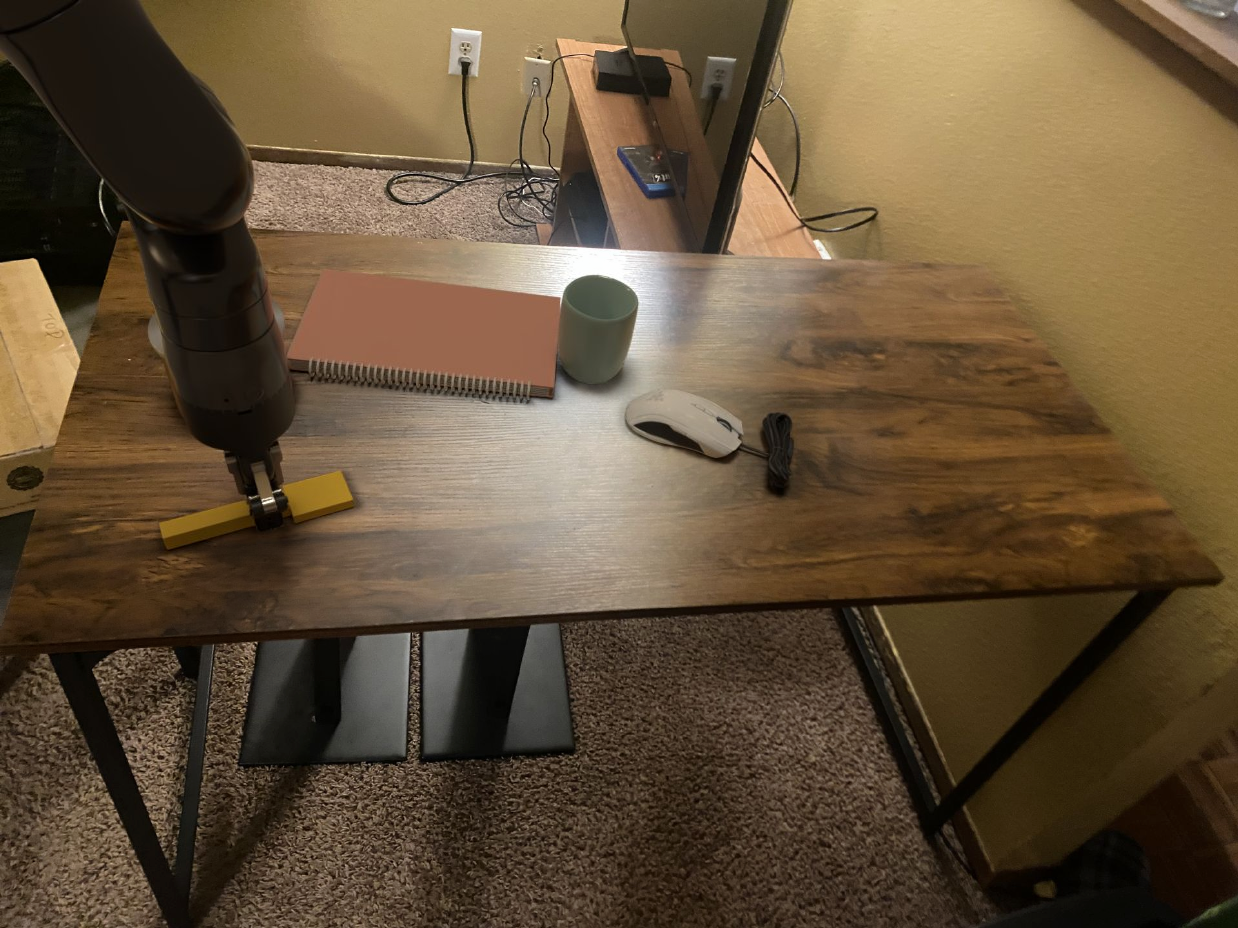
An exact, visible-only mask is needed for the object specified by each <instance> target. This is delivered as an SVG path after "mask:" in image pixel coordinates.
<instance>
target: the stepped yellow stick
mask: <svg viewBox="0 0 1238 928" xmlns="http://www.w3.org/2000/svg"><path fill="white" fill-rule="evenodd" d="M281 488H282V491H283V492H284V494H285V497H286V496H287V498H288V501H289V503H287V504H288V509H287V510H286V511H284V512H282V515H283V518H286V517H292V520H293V523H294V524H298V523H301V522H304V521H308V520H312V519H315V518H319V517H322V516H326V515H329V514H332V513H333V514H334V513H336V512H339V511H344V510H346V509H350V508H353V507H355V503H354V502H355V501H354V498H353V496H352V493H351V491H350V489H349V486H348V483H347V481H346V479H345V477H344V474H343V472H342V470H337V471H336V470H335V471H333V472H329V473H326V474H325V473H324V474H322V475H317V476H314V477H310V478H307V479H303V480H299V481H295V482H292V483H288V484H284V485H283V484H282V485H281ZM249 510H250V509H249V505H247V504H246V501H245V499H243V500H239V501H236V502H232V503H229V504H225V505H221V506H217V507H213V508H210V509H206V510H203V511H198V512H194V513H191V514H188V515H184V516H180V517H176V518H172V519H169V520H165V521H161V522H159V523H158V525H159V531H160V535H161V538H162V542H163V544H164V546H165V548H166V550H167V551H168V550H172V549H177V548H179V547H183V546H186V545H190V544H194V543H198V542H200V541H204V540H208V539H212V538H215V537H219V536H222V535H225V534H229V533H233V532H237V531H241V530H243V529H247V528H252V527H255V526H256V525H255V522H254V519H253V516H250V513H249Z"/></svg>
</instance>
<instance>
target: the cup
mask: <svg viewBox="0 0 1238 928" xmlns="http://www.w3.org/2000/svg"><path fill="white" fill-rule="evenodd" d="M638 311H639V298H638V295H637V294H636V292H635V291H634V290H633V288H632V287H630V286H629V285H627V284H626V283H625V282H622V281H621V280H618V279H616V278H613V277H610V276H606V275H603V274H602V275H601V274H587V275H582V276H580V277H577V278H575V279H573V280H571V281H570V282H569V284H567V285H566V287H565V289H564V290H563V293H562V298H561V301H560V314H559V327H558V340H557V353H558V360H559V362H560V365H561V367H562V368H563V371H564V372H565V373H566V374H567V375H569V376H570V377H571V378H573V379H574V380H576V381H578V382H580V383H583V384H588V385H601V384H604V383H606V382H609V381H610V380H612V379H613V378H614V377H616V376H617V374H618V373H619V372H620V371H621V369H622V367H623V366H624V364H625V362H626V359H627V358H628V355H629V351H630V348H631V345H632V341H633V337H634V332H635V327H636V322H637V317H638Z"/></svg>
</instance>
